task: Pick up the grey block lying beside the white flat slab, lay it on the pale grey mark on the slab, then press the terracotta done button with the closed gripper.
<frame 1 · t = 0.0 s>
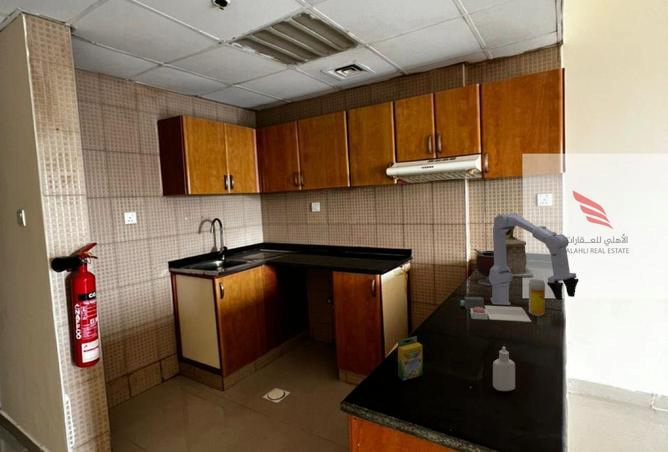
hand: (565, 298, 143), 11 cm above the worktop, tool pointing down, fingers open, 7 cm apart
done button: (478, 310, 155), point 3 cm above the worktop, slide at 0.0 cm
beer glass: (536, 314, 155), on the worktop
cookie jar: (509, 273, 230), on the worktop
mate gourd: (487, 282, 210), on the worktop
eye dropper bottle: (503, 388, 100), on the worktop
crayon box: (410, 376, 108), on the worktop
button housing: (478, 316, 155), on the worktop
white flat slab: (506, 313, 158), on the worktop
grey block: (474, 308, 166), on the worktop
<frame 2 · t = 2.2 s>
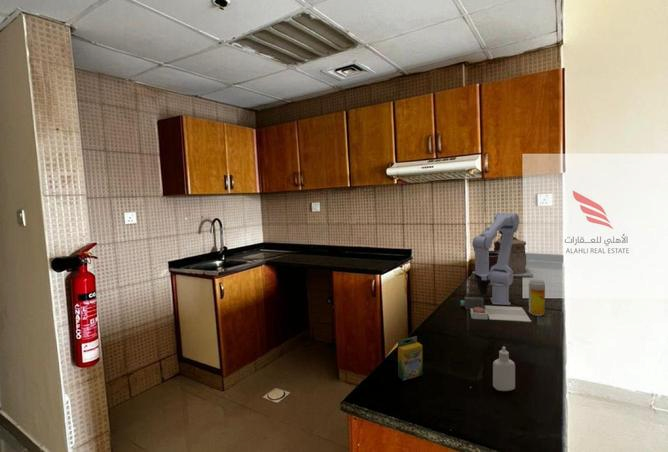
hand: (482, 291, 161), 9 cm above the worktop, tool pointing down, fingers open, 7 cm apart
nothing on the worktop moved.
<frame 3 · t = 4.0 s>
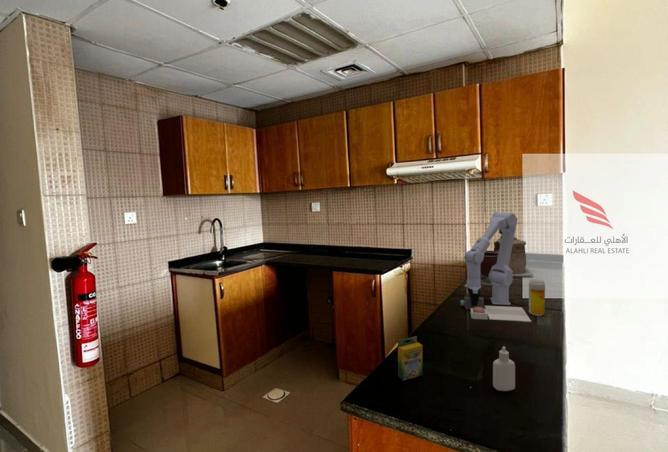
hand: (474, 304, 166), 2 cm above the worktop, tool pointing down, fingers closed on grey block, 3 cm apart
grey block: (474, 308, 166), on the worktop, touching gripper
everything else where it was.
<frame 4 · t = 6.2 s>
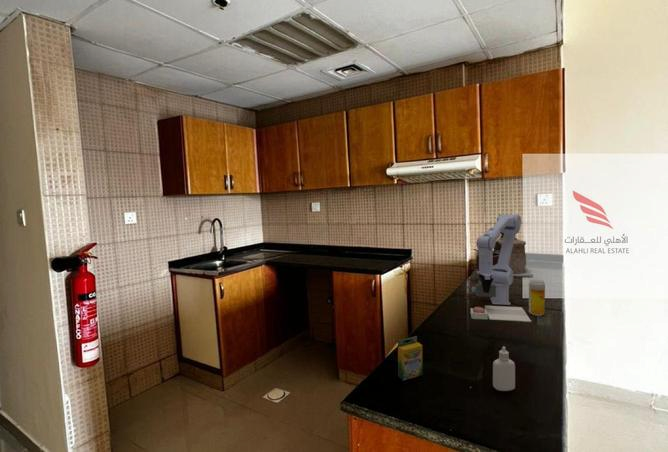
hand: (485, 291, 162), 9 cm above the worktop, tool pointing down, fingers closed on grey block, 3 cm apart
grey block: (485, 295, 163), point 7 cm above the worktop, touching gripper
everything else where it was.
when the fingers open (3 cm above the worktop, at t = 8.2 s): grey block drops 1 cm, resting on white flat slab.
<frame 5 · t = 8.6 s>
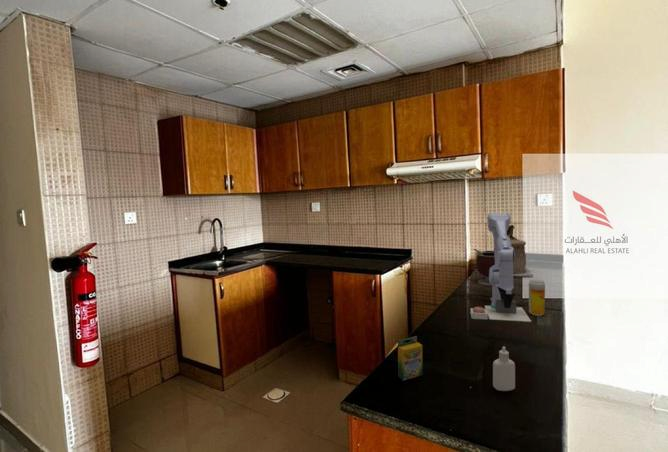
hand: (505, 305, 158), 3 cm above the worktop, tool pointing down, fingers open, 7 cm apart
grey block: (505, 311, 158), resting on white flat slab
everything else where it was.
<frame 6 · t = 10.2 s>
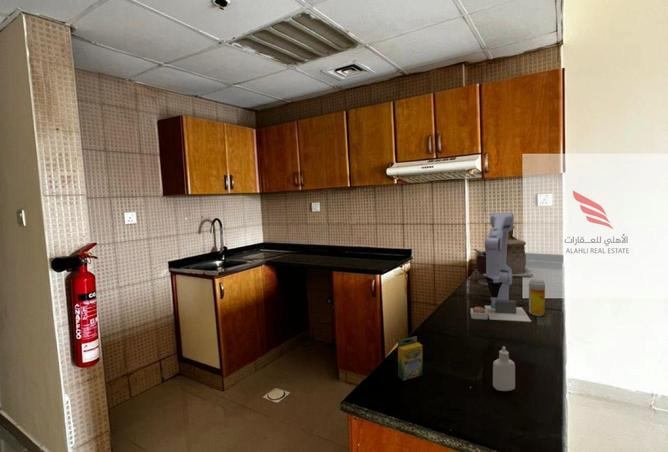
hand: (493, 294, 156), 9 cm above the worktop, tool pointing down, fingers open, 7 cm apart
nothing on the worktop moved.
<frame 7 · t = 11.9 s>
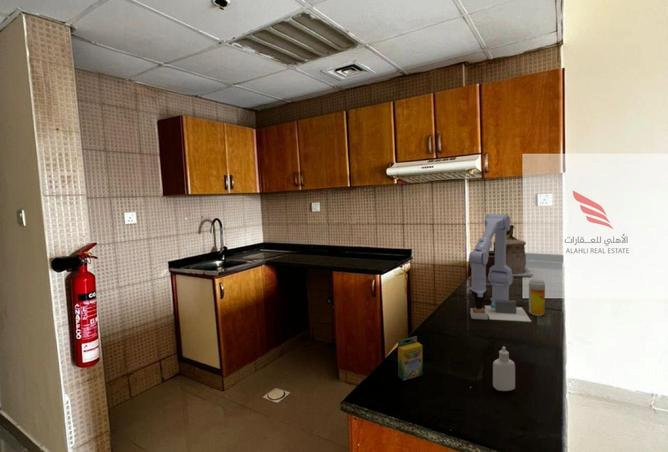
hand: (478, 308, 155), 4 cm above the worktop, tool pointing down, fingers closed, pressing on done button
done button: (478, 310, 155), point 3 cm above the worktop, slide at 0.1 cm, touching gripper
everything else where it was.
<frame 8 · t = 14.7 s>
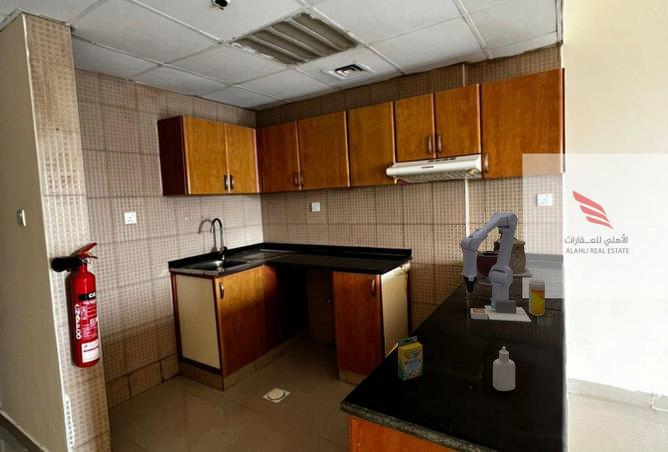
hand: (470, 292, 163), 8 cm above the worktop, tool pointing down, fingers closed
done button: (478, 312, 155), point 2 cm above the worktop, slide at 0.8 cm
everything else where it was.
at the end: grey block 0.3 cm from the target spot, resting on white flat slab; grey block touching white flat slab; done button slide at 0.8 cm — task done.
